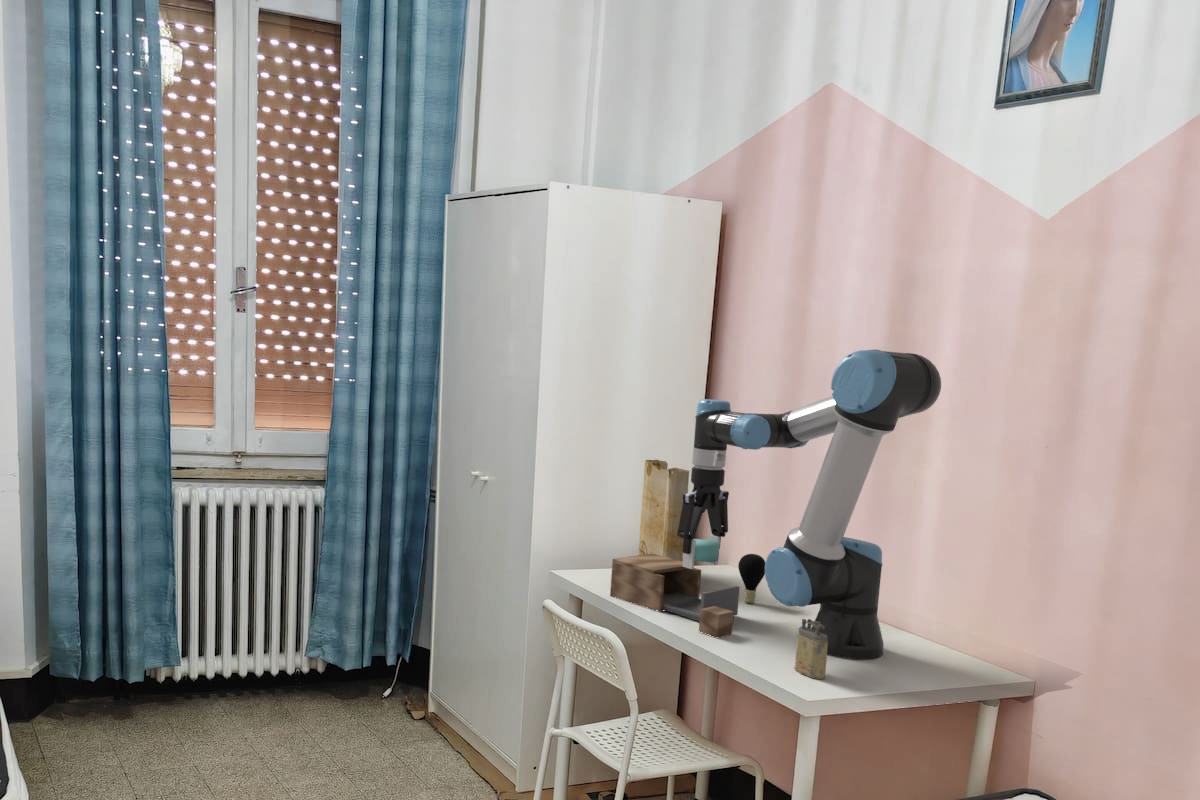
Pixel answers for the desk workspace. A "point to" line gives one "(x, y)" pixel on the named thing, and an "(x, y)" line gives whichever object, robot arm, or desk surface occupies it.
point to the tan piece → (662, 509)
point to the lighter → (811, 650)
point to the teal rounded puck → (706, 551)
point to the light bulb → (751, 574)
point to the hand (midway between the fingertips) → (700, 565)
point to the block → (716, 621)
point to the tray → (701, 602)
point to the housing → (652, 579)
